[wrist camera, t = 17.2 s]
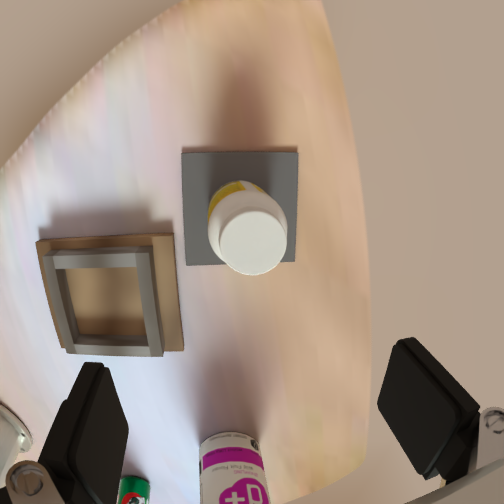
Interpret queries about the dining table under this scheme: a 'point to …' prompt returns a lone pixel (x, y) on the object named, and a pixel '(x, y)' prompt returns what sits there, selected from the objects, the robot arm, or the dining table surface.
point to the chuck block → (113, 294)
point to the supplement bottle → (246, 228)
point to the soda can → (133, 491)
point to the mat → (227, 170)
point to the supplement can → (232, 470)
